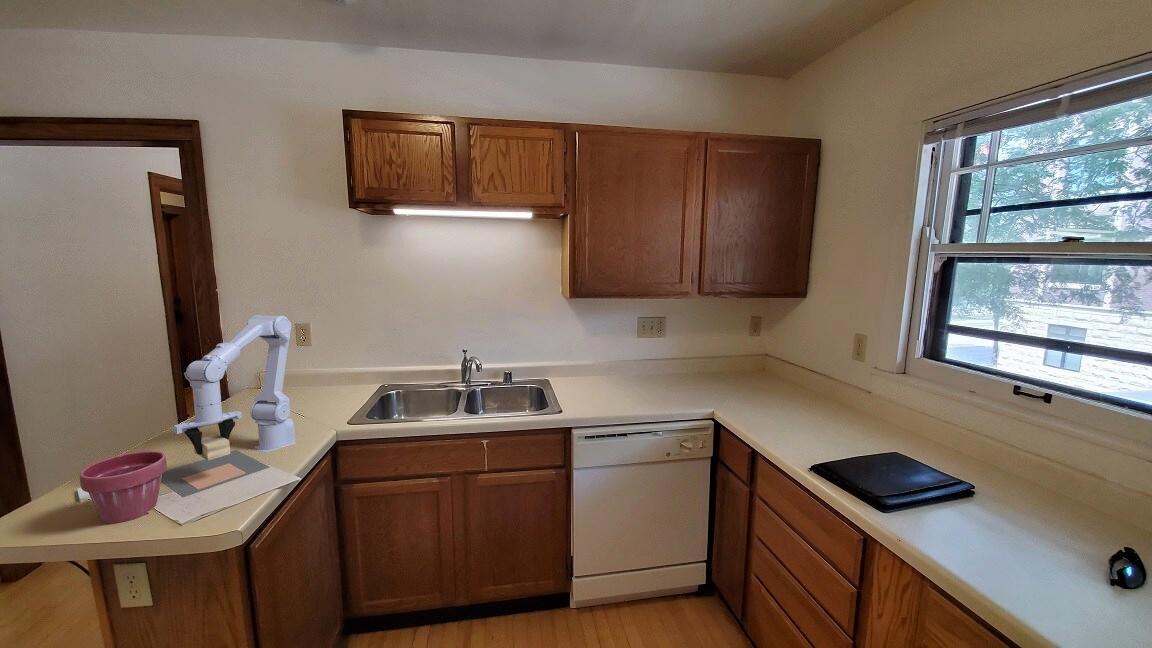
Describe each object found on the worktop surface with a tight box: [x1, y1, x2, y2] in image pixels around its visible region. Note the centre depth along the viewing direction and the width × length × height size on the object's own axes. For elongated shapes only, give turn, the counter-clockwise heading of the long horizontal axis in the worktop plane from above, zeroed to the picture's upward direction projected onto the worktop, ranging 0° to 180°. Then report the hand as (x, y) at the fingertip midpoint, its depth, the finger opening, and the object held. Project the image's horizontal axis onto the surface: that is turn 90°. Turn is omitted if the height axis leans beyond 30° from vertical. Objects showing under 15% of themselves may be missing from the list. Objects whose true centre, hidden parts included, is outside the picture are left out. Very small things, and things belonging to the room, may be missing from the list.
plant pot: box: [79, 450, 168, 524], centre depth 102 cm, size 14×14×13 cm
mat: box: [161, 449, 271, 498], centre depth 123 cm, size 20×22×1 cm
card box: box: [193, 433, 231, 460], centre depth 119 cm, size 9×5×4 cm, turn 60°
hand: (212, 449), depth 119 cm, fingers closed on card box, 5 cm apart
